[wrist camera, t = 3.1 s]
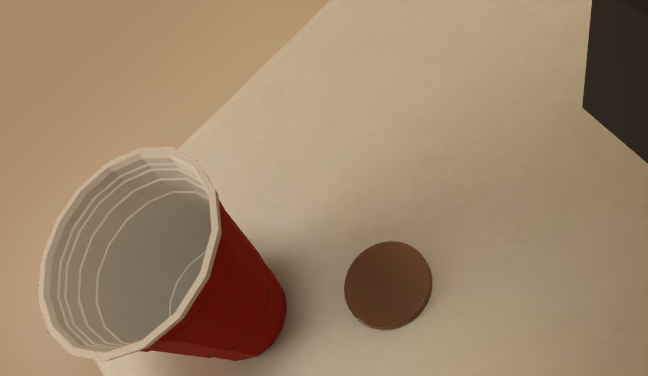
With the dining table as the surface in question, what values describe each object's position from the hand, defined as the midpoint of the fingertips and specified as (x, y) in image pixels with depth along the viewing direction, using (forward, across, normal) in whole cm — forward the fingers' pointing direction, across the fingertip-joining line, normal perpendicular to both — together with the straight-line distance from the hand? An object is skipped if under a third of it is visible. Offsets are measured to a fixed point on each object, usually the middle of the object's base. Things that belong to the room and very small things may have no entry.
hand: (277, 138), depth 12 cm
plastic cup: (+16, -5, -23) cm, 28 cm away
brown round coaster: (+14, +4, -20) cm, 25 cm away
